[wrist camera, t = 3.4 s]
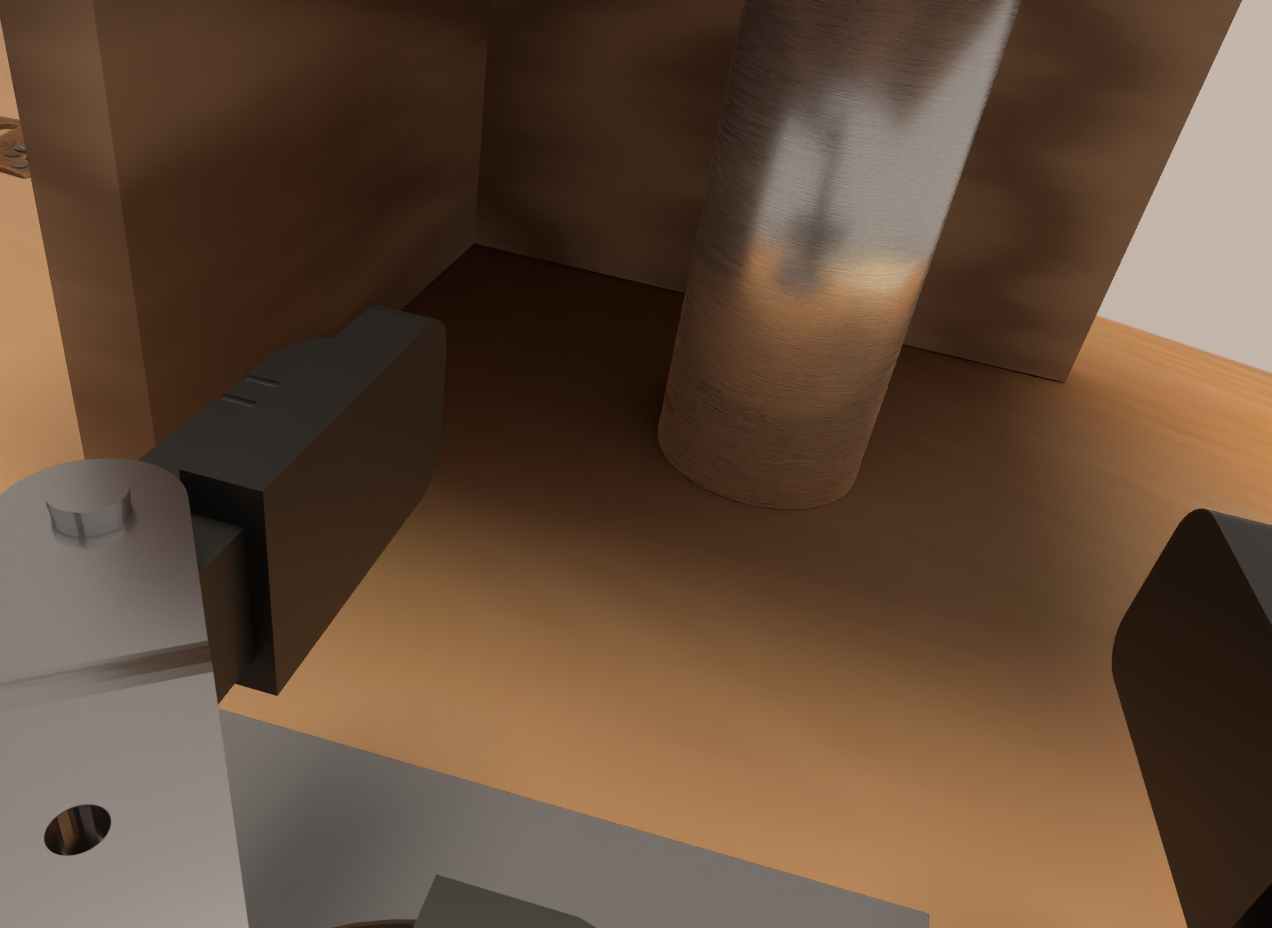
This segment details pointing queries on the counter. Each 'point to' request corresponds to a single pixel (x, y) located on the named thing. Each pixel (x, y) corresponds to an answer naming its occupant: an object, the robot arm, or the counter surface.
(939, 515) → the counter surface
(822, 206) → the steel tin
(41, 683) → the robot arm
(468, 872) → the rubber mat
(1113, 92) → the walnut desk
